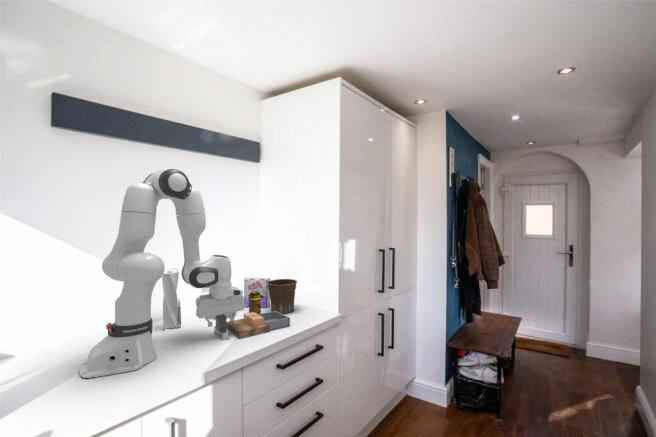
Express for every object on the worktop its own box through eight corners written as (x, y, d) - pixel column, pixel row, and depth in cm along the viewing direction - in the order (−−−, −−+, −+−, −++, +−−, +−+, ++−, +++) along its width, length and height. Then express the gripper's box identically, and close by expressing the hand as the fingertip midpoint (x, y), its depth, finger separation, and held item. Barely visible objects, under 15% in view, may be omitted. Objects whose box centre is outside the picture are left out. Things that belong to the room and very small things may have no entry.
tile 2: (253, 326, 142) (253, 319, 142) (248, 323, 146) (248, 317, 146) (263, 324, 145) (263, 317, 145) (259, 321, 149) (259, 315, 149)
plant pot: (267, 316, 166) (267, 285, 166) (266, 308, 182) (266, 279, 182) (299, 314, 170) (299, 283, 170) (295, 306, 185) (295, 278, 185)
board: (239, 338, 135) (239, 331, 135) (226, 328, 148) (226, 321, 148) (269, 331, 144) (269, 325, 144) (254, 322, 157) (254, 316, 157)
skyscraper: (180, 329, 148) (180, 268, 148) (160, 331, 144) (160, 269, 144) (181, 323, 155) (181, 265, 155) (162, 325, 152) (162, 266, 152)
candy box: (243, 307, 183) (243, 278, 183) (248, 304, 189) (248, 276, 189) (266, 308, 181) (266, 279, 181) (270, 305, 187) (270, 277, 187)
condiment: (263, 316, 167) (263, 292, 167) (247, 318, 162) (247, 295, 162) (258, 312, 173) (258, 290, 173) (243, 315, 168) (242, 292, 168)
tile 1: (248, 323, 147) (248, 316, 147) (243, 320, 151) (243, 313, 151) (258, 320, 150) (258, 314, 150) (253, 318, 154) (253, 311, 154)
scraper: (221, 341, 133) (221, 319, 133) (213, 333, 142) (213, 313, 142) (228, 339, 135) (228, 318, 135) (220, 331, 144) (220, 311, 144)
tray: (268, 331, 144) (268, 322, 144) (255, 323, 156) (255, 314, 156) (289, 326, 151) (289, 317, 151) (275, 318, 162) (275, 310, 162)
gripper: (198, 297, 130) (198, 331, 130) (246, 290, 142) (246, 321, 143) (193, 294, 135) (194, 327, 135) (240, 287, 148) (240, 317, 148)
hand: (221, 324), depth 139 cm, fingers open, 8 cm apart
